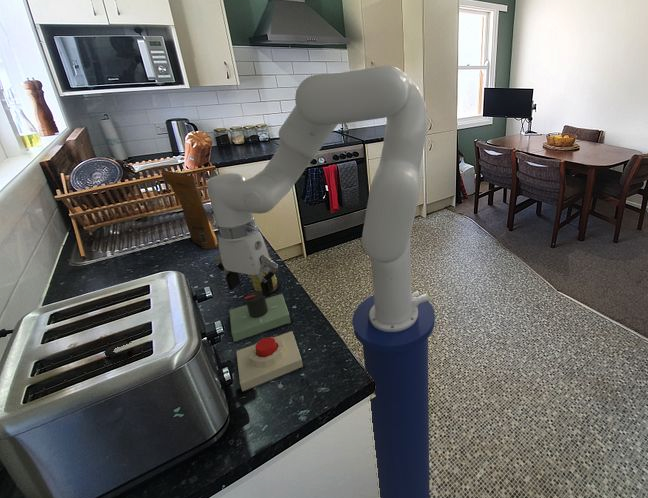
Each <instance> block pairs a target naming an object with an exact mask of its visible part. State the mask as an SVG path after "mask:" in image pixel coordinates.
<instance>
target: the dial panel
mask: <svg viewBox="0 0 648 498" xmlns="http://www.w3.org/2000/svg"><path fill="white" fill-rule="evenodd" d="M266 302H267V307H268V312H267V313H266V314H265V315H263V316H261V317H258V318H252V317H250V315H249V312H248V308H247V304H244V305H241V306H238V307H235V308H232V309H229V310H228V312H229V322H230V331H231V332H230V333H231V336H232V339H233V342H238V341H241V340H244V339H246V338H249V337H252V336H255V335H258V334H261V333H264V332H267V331H269V330H272V329H276V328H278V327H281V326H284V325H287V324H289V323H291V316H290V313H289V310H288V307H287V304H286V301H285V298H284V295H283V293H280V294H276V295H274V296H270V297H267V298H266Z"/></svg>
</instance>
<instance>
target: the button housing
mask: <svg viewBox="0 0 648 498" xmlns="http://www.w3.org/2000/svg"><path fill="white" fill-rule="evenodd" d="M271 337H272V338H274V339H275V341H276V345H277V349H276V351H275V352H274V353H273V354H271V355H270V356H267V357H260V356H258V355H257V351H256V344H257V343H258V342H256V343H255V344H252V345H249V346H247V347H243V348H241V349H238V350H236V351H235V353H236V361H237V368H238V369H237V371H238V378H239V385H240V389H241V392H245V391H247V390H250V389H253V388H255V387H257V386H260V385H262V384H264V383H267V382H269V381H271V380H274V379H276V378H279V377H281V376H283V375H286V374H288V373H291V372H294V371H295V370H296V371H297V370H299V369H300V368H303V367H304V363H303V360H302V356H301V354H300V350H299V347H298V344H297V341H296V338H295V335H294V332H293V331H292V330H291V331H288V332H285V333H283V334H279V335H277V336H271Z"/></svg>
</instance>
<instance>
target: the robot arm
mask: <svg viewBox="0 0 648 498" xmlns="http://www.w3.org/2000/svg"><path fill="white" fill-rule="evenodd" d="M294 101H295V105H294V107H293V109H292V110H291V112H290V113H289V115H288V116H287V118H286V119H285V121H284V123H283V124H281V127H280V128H279V129H278V133H277V134H278V137H279V141H280V142H279V145H278V147H277V149H276V151H275V153H274V154H273V155H272V157H271V159H269V162H268V163H267V164H266V165H265V167H264V168H263V169H262V170H260V171H259V172H258V173H256V174H255V175H253V176H252V177H250V178H248V179H246V178H245V177H244V176H243V175H242V174H240V173H233V172H231V173H230V172H228V173H222V174H217V175H214V176H212V177H210V178H209V179H208V180H207V182H206V189H207V193H208V197H209V201H210V206H211V208H212V209H211V210H212V213H213V216H214V220H215V224H216V227H217V232H218V238H217V242H218V250H219V253H218V254H216V255H214V256H213V257H212V260H213V261H214V262H215V263H216V265H217V268H218V269H219V270H220V271H222V275H223V276H224V277H225V279H226V284H227V288H228V290H229V291H233V290H234V289H235V288H237V287H238V286H239V285H240V284H241V278H240V274H243V275H244V274H245V275H249V276H250V275H257V276H258V277H259V279H260V280H261V281H262V282H261V283H260V284H261V289H262V293H263V296H265V297H267V296H268V295H269V293H270V292H271V291H272V290H273V289H274V288H273V283H272V277H273V276H274V275H275V276H276V274H277V271H278V268H279V265H278V263H277V262H274V261H273V260H272V259H271V260H269V256H268V253H269V251H268V252H267V249H268V248H267V249H266V247H267V245H266V242H265V240H264V238H263V235H262V234H261V232H260V230H259V226H258V225H256V221H255V217H254V214H265V213H268V212H270V211H272V210H273V209H274V208H275V207H277V205H278V204H279V203H280V202H281V200H283V198H284V197H286V195H288V194H289V192H290V191H291V190H292V189H293V188H294V186H295V184H296V183H297V181H298V180H299V179H300V177H301V176H302V175H303V173H304V172H305V170H306V169H307V168H308V166H309V164H310V163H311V162H312V161H313V160H314V159H315V157H316V155H317V154H318V153H319V151H320V150H321V149H322V147H323V146H324V144H325V143H326V141H327V140H328V139H329V137H330V136H331V134H332V133H333V132H334V130H335V129H336V128H337V127H338V125H341V124H342V125H343V124H351V123H358V122H365V121H372V120H378V119H379V120H380V119H386V124H385V125H386V126H385V131H384V136H383V144H382V149H381V154H380V159H379V163H378V166H377V169H376V171H375V173H374V176H373V179H372V181H371V185H370V188H369V193H368V199H367V204H366V210H365V216H364V222H363V229H362V235H361V244H362V248H363V250H364V253H365V254H366V255H367V256H368V257H369V259H370V267H371V268H370V269H371V279H372V290H373V295H374V305H373V307H372V308H371V310H370V313H369V318H370V322H371V324H372V325H373V326H374V327H375V328H377V329H379V330H381V331H385V332H398V331H402V330H405V329H407V328H409V327H410V326H412V325H413V324H414V323H415V322H416V320H417V318H418V308H417V306H418V305H419V304H420V303H424V302H426V301H429V299H430V298H429V295H428V294H427V293H424V294H422V295H421V294H420V292H419V291H418V290H417V291H412V264H411V263H412V262H411V261H412V260H411V259H412V258H411V257H412V255H411V235H412V230H413V225H414V221H415V216H416V212H417V209H418V203H419V198H420V197H419V196H420V169H421V164H422V159H423V154H424V147H425V142H426V138H427V137H426V136H427V131H428V130H427V129H428V110H427V105H426V102H425V99H424V96H423V93H422V91H421V90H420V88H419V87H418V85H417V84H416V82H414V80H413V79H412V78H411V77H410V76H409V75H407V74H406V73H405V72H404V71H403V70H402V69H399V68H398V67H396V66H393V65H380V66H375V67H369V68H362V69H357V70H351V71H350V70H349V71H343V72H336V73H335V72H334V73H319V74H313V75H310V76H308V77H306V78H305V79H304V80H302V81H301V82H300V84H299V85H298V87H297V88H296V91H295V96H294ZM257 230H259V231H257ZM260 267H261V269H260ZM267 267H268V268H269V269H268V268H267ZM262 271H264V272H265V273H266V274H267V275H266V276H264V275H263V274H262V273H261V272H262ZM412 292H414V293H412ZM270 294H271V293H270ZM420 295H421V296H420ZM418 296H420V297H418ZM416 297H417V298H416Z"/></svg>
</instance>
